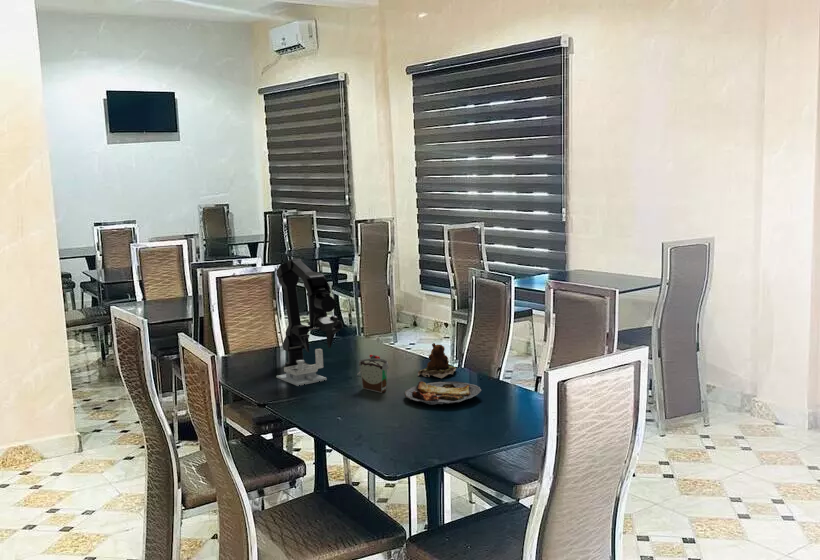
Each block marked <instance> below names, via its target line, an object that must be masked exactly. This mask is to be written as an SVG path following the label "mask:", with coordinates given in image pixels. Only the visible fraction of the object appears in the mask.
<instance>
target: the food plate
mask: <svg viewBox="0 0 820 560" xmlns="http://www.w3.org/2000/svg"><path fill="white" fill-rule="evenodd" d="M481 392H482V389H481V387H480V386H478V385H476V384H472V383H468V382H464V381H435V382H427V383H426V382H424V381H418V383H417V385H414V386H411V387H409V388H408V389H406V390H405V391H404V392H403V396H405V398H406V399H408V400H410V401H412V400H413V401H414V402H422V403H425V404H427V405H431V406H434V405H443V404H455V403H460V402H463V401H465V400H468V399H472V398H474V397H476V396H478V394H480V393H481Z"/></svg>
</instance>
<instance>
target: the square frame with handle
mask: <svg viewBox="0 0 820 560" xmlns="http://www.w3.org/2000/svg"><path fill="white" fill-rule="evenodd" d="M314 354H315V356H314V357H315V363H314V364H309V363H307V362H306V363H307V364H306V363H305V364H303V369H298V365H294V366H289V365H288V366H285V367H283V372H285V373H286V372H287V373H290V374H293V375H295V376H297V375H302V374H307V373H312V372H316V373H317V372H318V370H319V369H323V368H324V352H323V348H315V349H314Z"/></svg>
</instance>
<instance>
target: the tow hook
mask: <svg viewBox="0 0 820 560" xmlns="http://www.w3.org/2000/svg"><path fill="white" fill-rule="evenodd" d="M372 358H376V359H381V356H378V355H375V354H369V359H372ZM356 374H357V375H358V376H359V375H361V369H360V370H359V371H358V373H356Z"/></svg>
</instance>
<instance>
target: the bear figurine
mask: <svg viewBox="0 0 820 560" xmlns="http://www.w3.org/2000/svg"><path fill="white" fill-rule="evenodd" d="M431 346H432V349H431V351H430V354H429V355H428V359H429V360H430V361H429V362H427V365H426V367H424V369H420V370H419V371H418V372H417V376H418V377H419V376H420V375H421V376H423V377H425V378H430V376H432V377H435V378H440V379H443V378H445V377H447V376H448V375H454V372H456V370H457V367H456V366H453V365H450V364H449V363H450V360H449V357H448V356H447V355H446V353H445V351H446V349H445V346H444V345H442V344H436V343H432V344H431Z"/></svg>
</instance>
